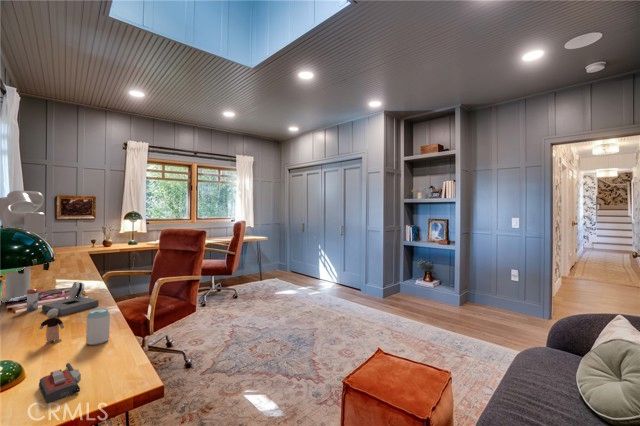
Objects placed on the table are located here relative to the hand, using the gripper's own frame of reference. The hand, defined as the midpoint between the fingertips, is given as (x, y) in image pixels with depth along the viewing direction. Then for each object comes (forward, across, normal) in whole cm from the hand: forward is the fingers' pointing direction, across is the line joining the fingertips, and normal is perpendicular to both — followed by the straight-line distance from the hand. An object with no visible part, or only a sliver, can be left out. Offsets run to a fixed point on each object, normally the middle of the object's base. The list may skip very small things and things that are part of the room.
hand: (33, 271), depth 144 cm
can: (+20, +10, +64) cm, 68 cm away
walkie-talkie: (+21, +32, +83) cm, 91 cm away
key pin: (+19, 0, 0) cm, 19 cm away
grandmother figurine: (+20, +17, +49) cm, 56 cm away
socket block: (+19, -9, +14) cm, 25 cm away
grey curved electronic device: (+19, -20, -3) cm, 28 cm away
